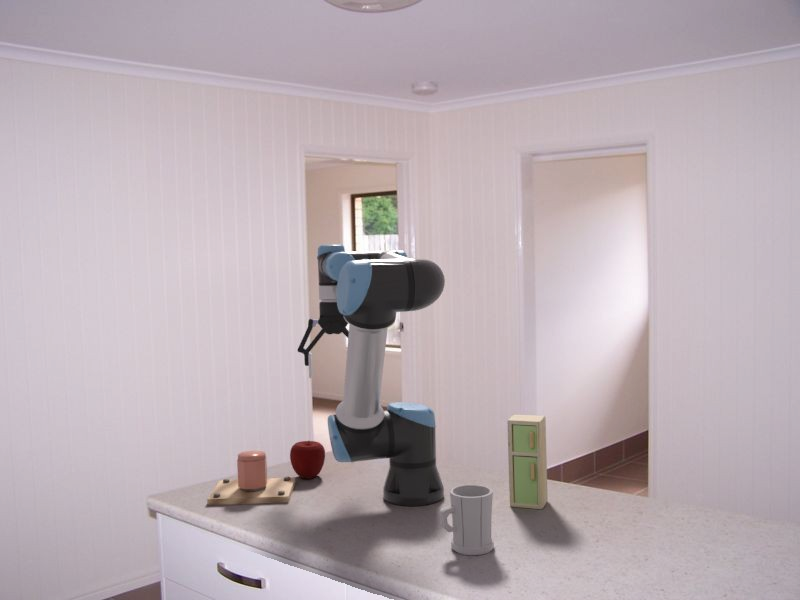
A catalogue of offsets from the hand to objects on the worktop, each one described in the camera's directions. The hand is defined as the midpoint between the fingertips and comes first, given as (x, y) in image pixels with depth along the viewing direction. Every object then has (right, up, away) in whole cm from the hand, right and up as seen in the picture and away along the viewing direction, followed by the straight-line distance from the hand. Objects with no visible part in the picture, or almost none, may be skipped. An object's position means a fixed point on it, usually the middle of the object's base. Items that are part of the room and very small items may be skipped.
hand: (335, 376), depth 218 cm
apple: (-7, -27, -3) cm, 29 cm away
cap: (-20, -26, -17) cm, 37 cm away
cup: (+32, -30, -57) cm, 72 cm away
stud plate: (-20, -28, -17) cm, 38 cm away
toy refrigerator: (+49, -28, -31) cm, 64 cm away
